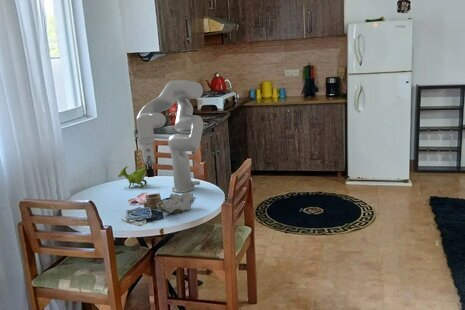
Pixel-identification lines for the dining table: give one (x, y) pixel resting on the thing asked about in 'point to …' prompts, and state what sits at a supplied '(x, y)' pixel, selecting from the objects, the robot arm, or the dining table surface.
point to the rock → (176, 203)
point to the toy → (135, 176)
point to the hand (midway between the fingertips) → (150, 174)
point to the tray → (129, 212)
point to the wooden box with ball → (152, 201)
